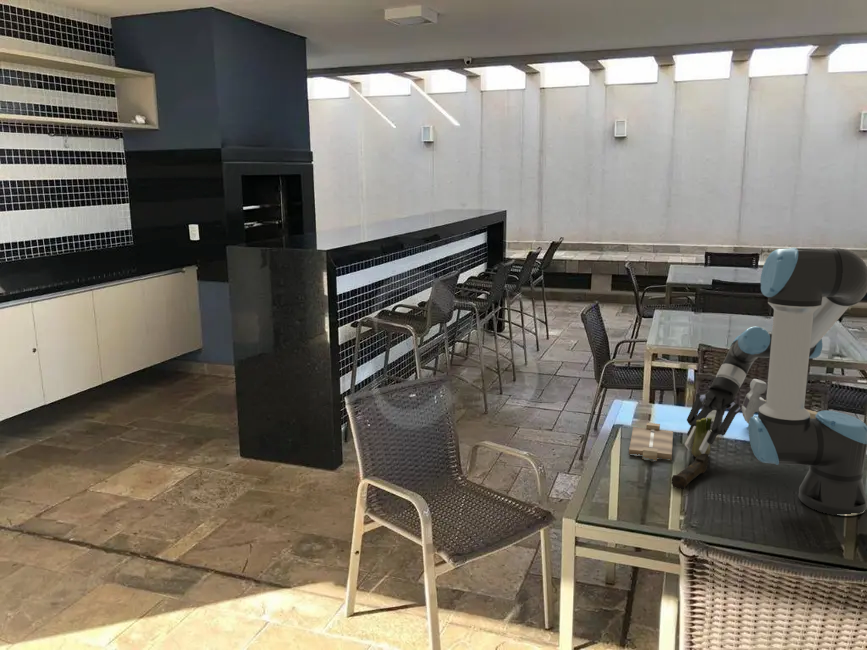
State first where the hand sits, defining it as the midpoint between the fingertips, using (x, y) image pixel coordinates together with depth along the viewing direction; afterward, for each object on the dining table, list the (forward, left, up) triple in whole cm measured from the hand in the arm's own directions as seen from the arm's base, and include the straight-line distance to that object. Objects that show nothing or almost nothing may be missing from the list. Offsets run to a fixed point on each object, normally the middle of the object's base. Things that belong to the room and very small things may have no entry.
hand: (694, 449), depth 203 cm
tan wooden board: (+7, +12, -3) cm, 14 cm away
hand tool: (-11, +1, -4) cm, 12 cm away
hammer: (+34, -30, -4) cm, 45 cm away
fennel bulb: (+3, -2, -4) cm, 5 cm away
